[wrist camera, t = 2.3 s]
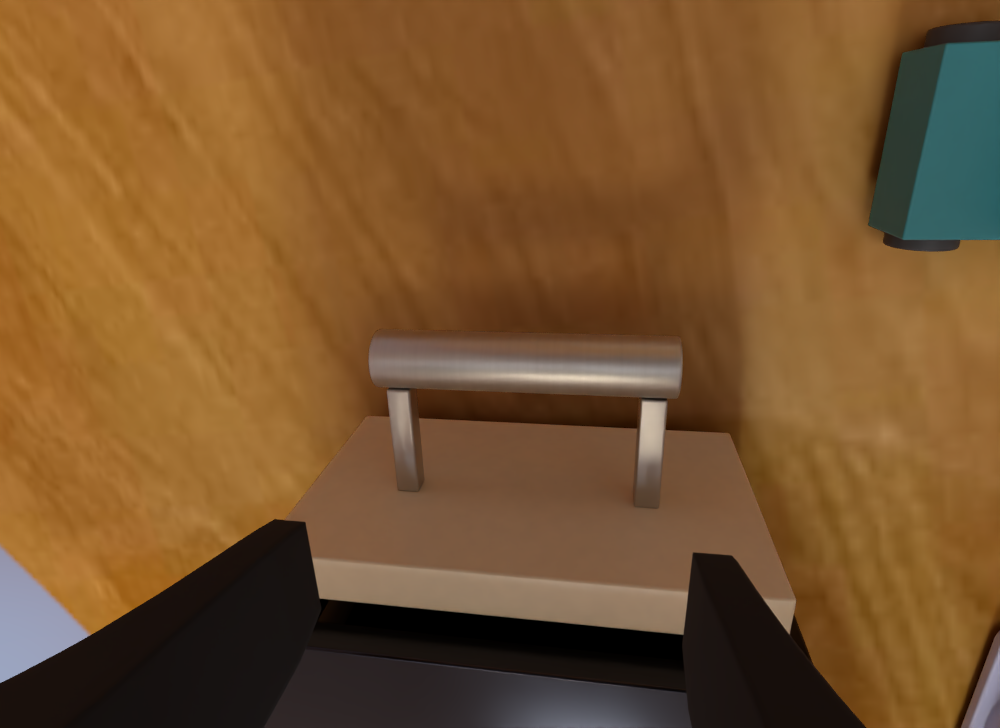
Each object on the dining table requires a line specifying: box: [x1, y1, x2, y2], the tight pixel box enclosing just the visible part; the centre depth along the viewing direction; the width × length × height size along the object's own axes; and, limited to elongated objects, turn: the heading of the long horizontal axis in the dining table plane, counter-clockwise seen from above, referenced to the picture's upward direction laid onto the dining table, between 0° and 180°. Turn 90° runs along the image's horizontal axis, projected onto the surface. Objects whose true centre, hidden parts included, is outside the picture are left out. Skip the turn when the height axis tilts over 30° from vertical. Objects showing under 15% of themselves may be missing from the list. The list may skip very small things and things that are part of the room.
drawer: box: [285, 329, 796, 660], centre depth 17 cm, size 18×11×7 cm, turn 2°
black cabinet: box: [264, 599, 813, 728], centre depth 19 cm, size 15×13×9 cm
